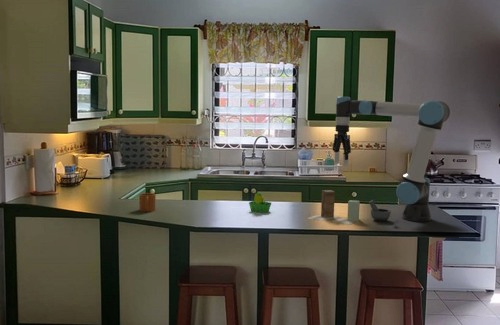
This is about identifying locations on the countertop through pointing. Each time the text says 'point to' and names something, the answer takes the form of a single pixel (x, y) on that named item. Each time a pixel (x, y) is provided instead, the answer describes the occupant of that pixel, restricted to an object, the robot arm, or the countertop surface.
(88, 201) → the countertop surface
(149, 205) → the mug
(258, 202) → the fruit basket
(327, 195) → the walnut block
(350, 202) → the sage-green block
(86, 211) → the countertop surface
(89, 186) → the countertop surface
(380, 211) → the mortar and pestle
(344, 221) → the maple board
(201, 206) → the countertop surface
